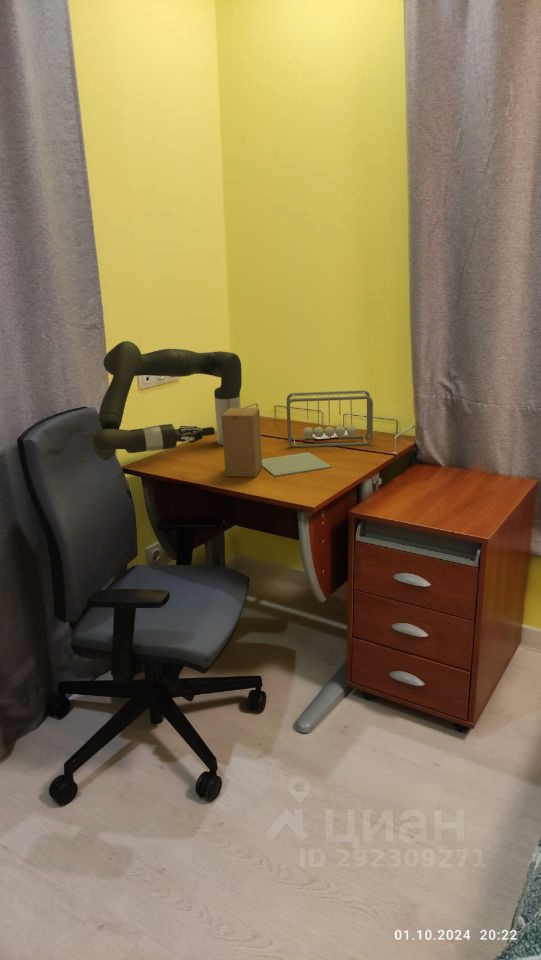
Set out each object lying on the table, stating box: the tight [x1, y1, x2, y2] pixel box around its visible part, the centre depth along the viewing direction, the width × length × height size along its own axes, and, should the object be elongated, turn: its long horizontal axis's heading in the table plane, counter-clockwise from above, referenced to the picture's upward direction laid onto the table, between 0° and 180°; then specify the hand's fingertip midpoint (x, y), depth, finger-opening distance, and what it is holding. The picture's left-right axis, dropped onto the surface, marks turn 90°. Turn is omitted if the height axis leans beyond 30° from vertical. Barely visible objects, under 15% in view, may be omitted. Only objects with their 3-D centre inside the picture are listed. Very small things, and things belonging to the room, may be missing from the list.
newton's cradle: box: [286, 389, 374, 448], centre depth 253 cm, size 30×10×18 cm, turn 89°
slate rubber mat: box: [262, 451, 332, 477], centre depth 233 cm, size 18×20×1 cm
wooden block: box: [222, 407, 263, 478], centre depth 224 cm, size 10×10×20 cm
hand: (213, 430), depth 220 cm, fingers closed
